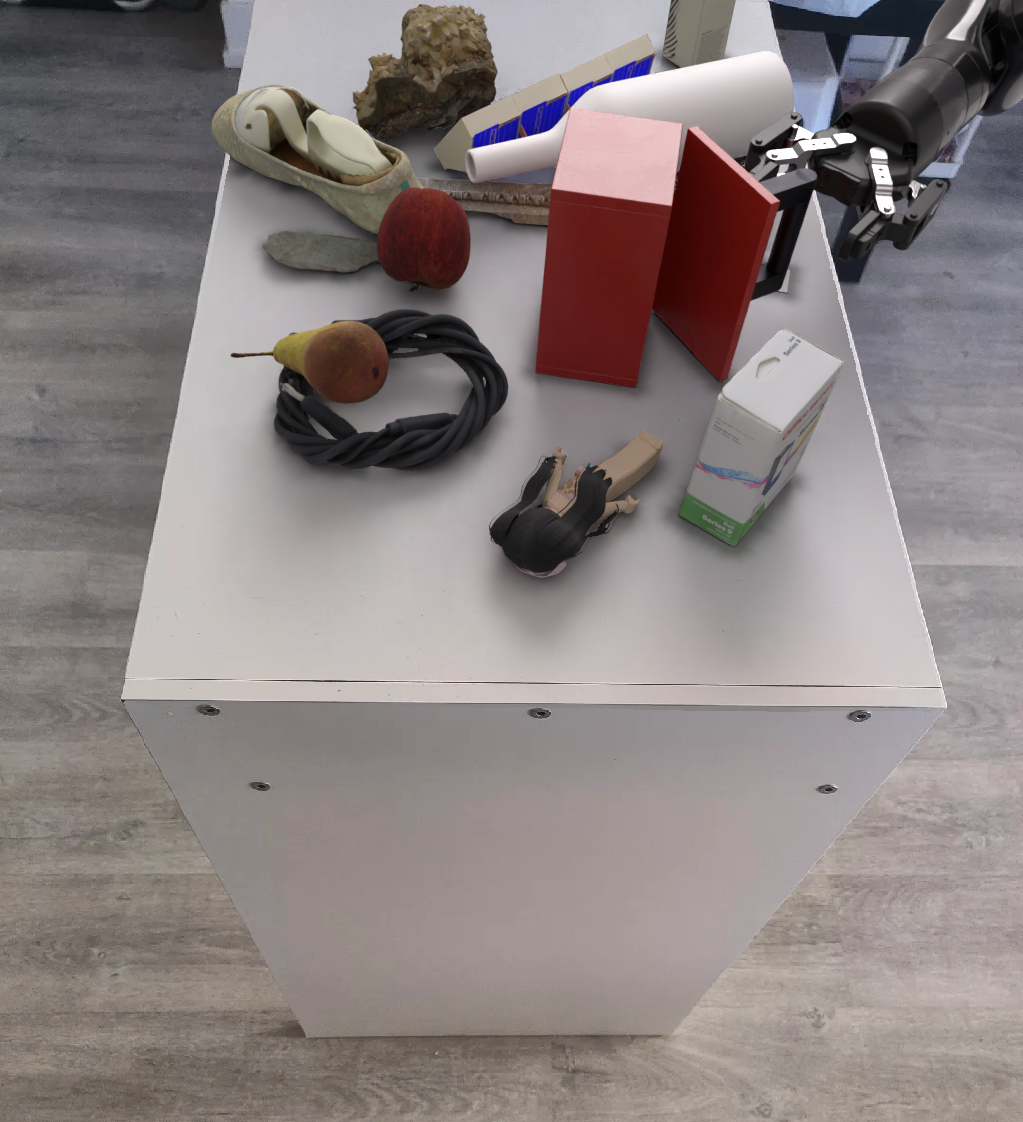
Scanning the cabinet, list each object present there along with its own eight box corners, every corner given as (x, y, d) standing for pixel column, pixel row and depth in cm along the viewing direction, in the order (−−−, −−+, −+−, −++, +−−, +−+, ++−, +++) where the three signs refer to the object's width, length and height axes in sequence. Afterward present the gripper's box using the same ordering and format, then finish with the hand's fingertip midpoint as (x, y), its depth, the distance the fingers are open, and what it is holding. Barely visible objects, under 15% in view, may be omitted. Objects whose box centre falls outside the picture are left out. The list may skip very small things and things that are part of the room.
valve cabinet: (647, 307, 85) (683, 122, 71) (635, 388, 80) (672, 205, 66) (551, 293, 85) (570, 107, 72) (534, 372, 80) (551, 188, 67)
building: (647, 30, 95) (666, 72, 96) (610, 64, 101) (629, 103, 102) (462, 116, 87) (485, 161, 88) (433, 149, 92) (455, 191, 93)
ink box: (735, 447, 77) (778, 320, 67) (795, 481, 76) (848, 355, 65) (675, 516, 73) (710, 391, 63) (736, 552, 72) (783, 431, 62)
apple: (490, 280, 85) (493, 191, 78) (427, 327, 82) (425, 238, 75) (423, 241, 87) (421, 151, 80) (360, 285, 84) (352, 196, 77)
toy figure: (582, 432, 77) (472, 555, 70) (603, 371, 72) (486, 497, 65) (662, 481, 76) (559, 611, 69) (689, 423, 71) (581, 557, 64)
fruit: (367, 309, 67) (245, 282, 73) (334, 391, 67) (215, 357, 73) (414, 348, 71) (296, 320, 77) (383, 424, 72) (267, 390, 78)
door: (710, 286, 86) (756, 106, 73) (780, 357, 82) (842, 179, 69) (651, 308, 84) (687, 127, 71) (719, 381, 80) (771, 204, 67)
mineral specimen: (359, 68, 100) (350, -46, 92) (490, 70, 101) (493, -42, 93) (355, 155, 93) (346, 41, 85) (497, 157, 94) (501, 44, 85)
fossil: (599, 187, 92) (602, 185, 88) (595, 228, 93) (598, 228, 89) (399, 173, 92) (394, 170, 88) (399, 214, 93) (393, 213, 89)
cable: (507, 352, 81) (510, 306, 77) (506, 486, 74) (509, 443, 70) (289, 343, 80) (281, 297, 76) (267, 478, 73) (257, 434, 69)
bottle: (807, 99, 89) (495, 168, 82) (770, 168, 97) (481, 238, 89) (767, 28, 91) (458, 89, 83) (733, 102, 99) (447, 164, 91)
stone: (400, 233, 87) (394, 264, 83) (399, 251, 88) (394, 282, 85) (268, 219, 86) (257, 249, 83) (270, 237, 87) (259, 267, 84)
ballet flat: (257, 90, 95) (224, 14, 88) (463, 192, 88) (445, 118, 81) (200, 152, 94) (161, 79, 87) (404, 261, 86) (380, 191, 79)
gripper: (835, 44, 79) (723, 133, 72) (1003, 117, 75) (901, 219, 68) (806, 137, 86) (701, 227, 79) (959, 210, 82) (862, 311, 75)
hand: (794, 223), depth 74 cm, fingers open, 8 cm apart
